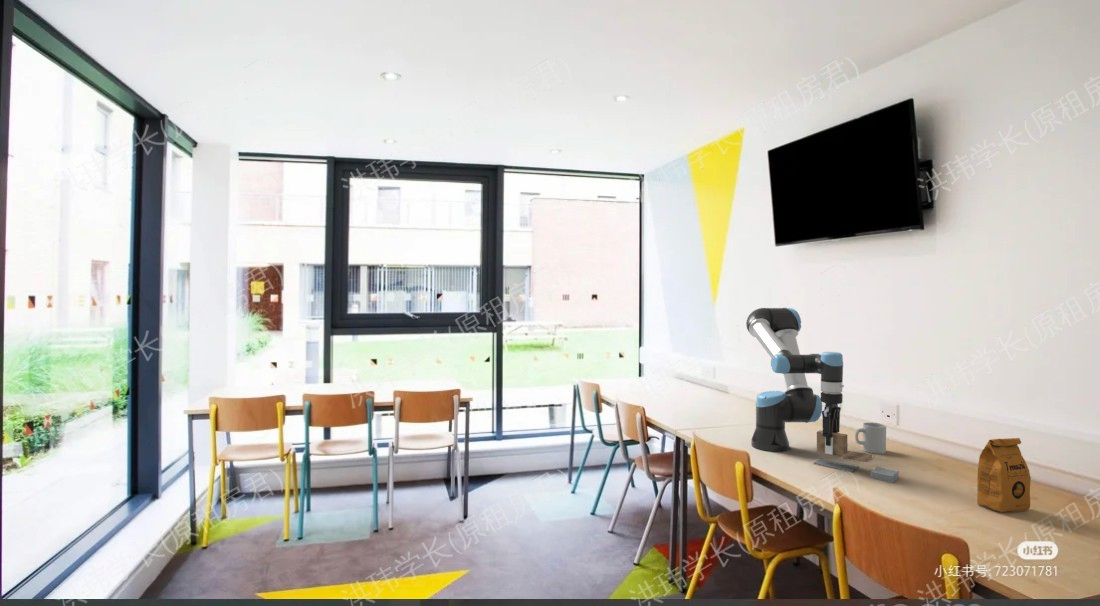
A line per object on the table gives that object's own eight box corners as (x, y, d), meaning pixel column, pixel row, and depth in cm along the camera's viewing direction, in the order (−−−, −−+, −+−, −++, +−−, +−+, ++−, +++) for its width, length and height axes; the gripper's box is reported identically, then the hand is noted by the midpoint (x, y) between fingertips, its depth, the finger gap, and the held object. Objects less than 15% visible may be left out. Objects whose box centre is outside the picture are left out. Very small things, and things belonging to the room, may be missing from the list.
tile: (876, 473, 209) (870, 479, 203) (876, 466, 208) (870, 471, 203) (898, 478, 204) (892, 483, 198) (898, 470, 204) (892, 476, 198)
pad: (813, 463, 219) (813, 462, 219) (820, 459, 225) (820, 458, 225) (852, 472, 209) (852, 471, 209) (859, 467, 215) (859, 466, 215)
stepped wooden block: (815, 453, 219) (815, 432, 219) (821, 449, 224) (821, 429, 224) (866, 462, 206) (866, 440, 206) (872, 458, 211) (872, 437, 211)
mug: (879, 448, 240) (879, 422, 240) (890, 454, 232) (890, 427, 232) (850, 447, 241) (850, 422, 241) (860, 453, 232) (860, 427, 232)
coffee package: (1036, 514, 171) (1038, 442, 170) (999, 515, 170) (1001, 443, 169) (1006, 501, 181) (1008, 433, 180) (971, 503, 179) (973, 434, 179)
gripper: (834, 396, 209) (833, 459, 209) (849, 390, 221) (848, 450, 221) (813, 393, 214) (812, 455, 215) (829, 388, 226) (828, 446, 226)
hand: (830, 452), depth 218 cm, fingers closed on stepped wooden block, 3 cm apart
